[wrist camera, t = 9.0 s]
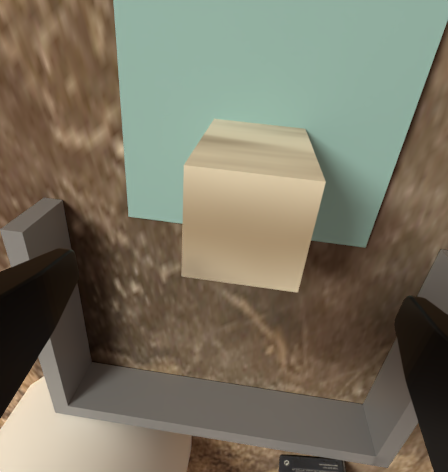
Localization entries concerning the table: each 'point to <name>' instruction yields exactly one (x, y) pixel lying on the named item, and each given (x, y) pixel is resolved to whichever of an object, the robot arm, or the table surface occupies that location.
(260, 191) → the cream block
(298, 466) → the small box
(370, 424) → the grey l-shaped bracket
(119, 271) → the table surface
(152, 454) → the cylinder
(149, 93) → the teal mat
